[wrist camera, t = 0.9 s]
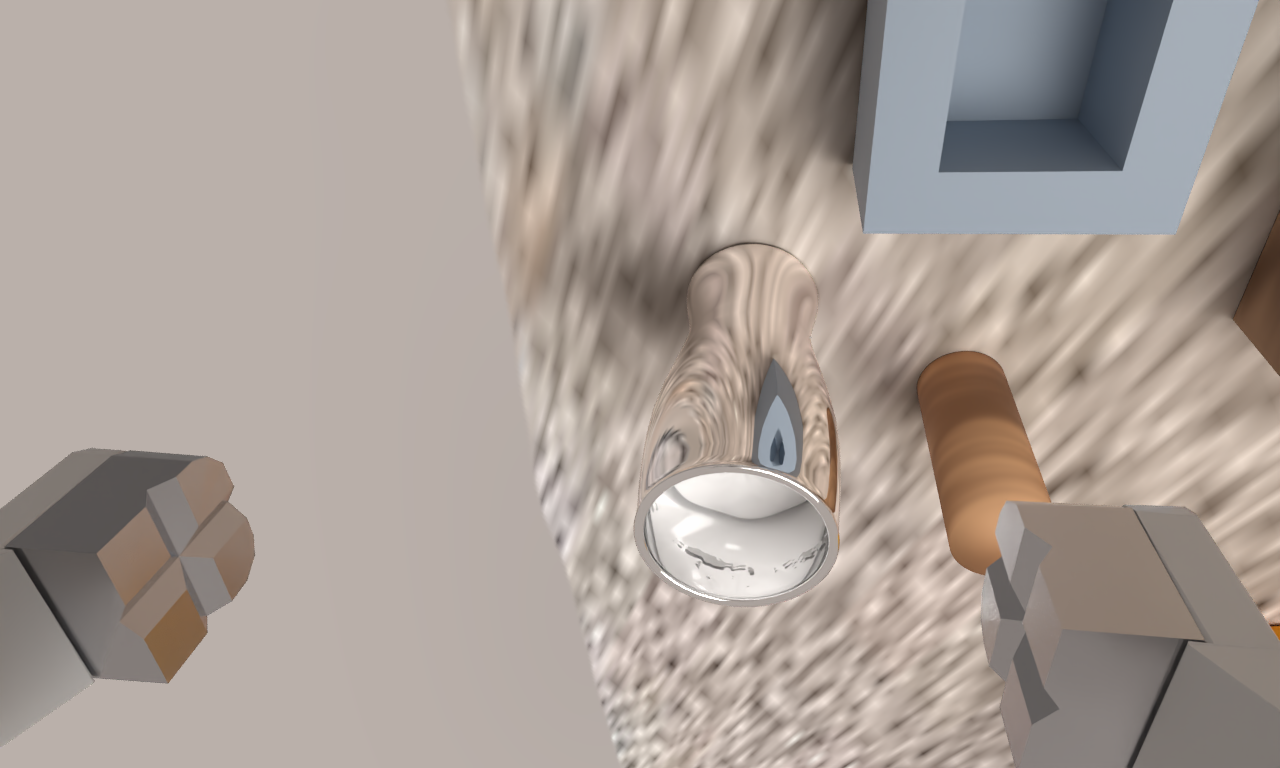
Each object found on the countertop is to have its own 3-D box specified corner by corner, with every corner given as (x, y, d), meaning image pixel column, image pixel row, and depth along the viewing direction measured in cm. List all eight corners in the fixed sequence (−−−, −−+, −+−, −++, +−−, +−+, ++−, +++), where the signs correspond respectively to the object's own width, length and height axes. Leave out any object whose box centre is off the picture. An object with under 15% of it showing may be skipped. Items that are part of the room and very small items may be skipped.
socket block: (878, -120, 27) (898, -98, 22) (1206, -141, 25) (1301, -122, 21) (852, 167, 33) (863, 233, 28) (1117, 165, 31) (1175, 234, 27)
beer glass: (712, 378, 41) (681, 626, 29) (652, 264, 37) (588, 492, 25) (848, 337, 38) (875, 590, 26) (797, 210, 35) (801, 435, 23)
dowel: (922, 350, 38) (958, 501, 30) (1013, 352, 37) (1074, 507, 29) (911, 416, 40) (942, 572, 32) (996, 419, 39) (1048, 580, 32)
